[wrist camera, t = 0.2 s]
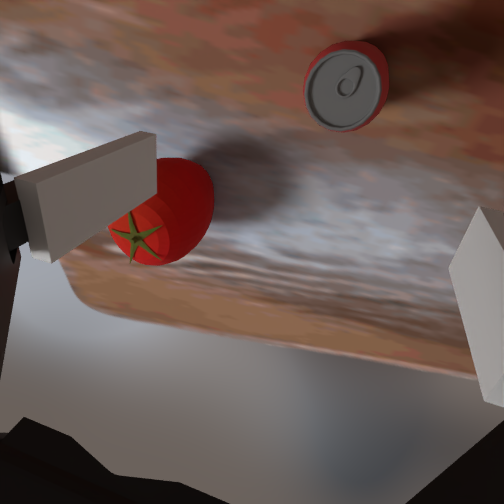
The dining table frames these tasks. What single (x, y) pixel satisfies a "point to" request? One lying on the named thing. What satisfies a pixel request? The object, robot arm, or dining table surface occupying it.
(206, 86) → the dining table surface
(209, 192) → the tomato
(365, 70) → the beer can
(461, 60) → the dining table surface
